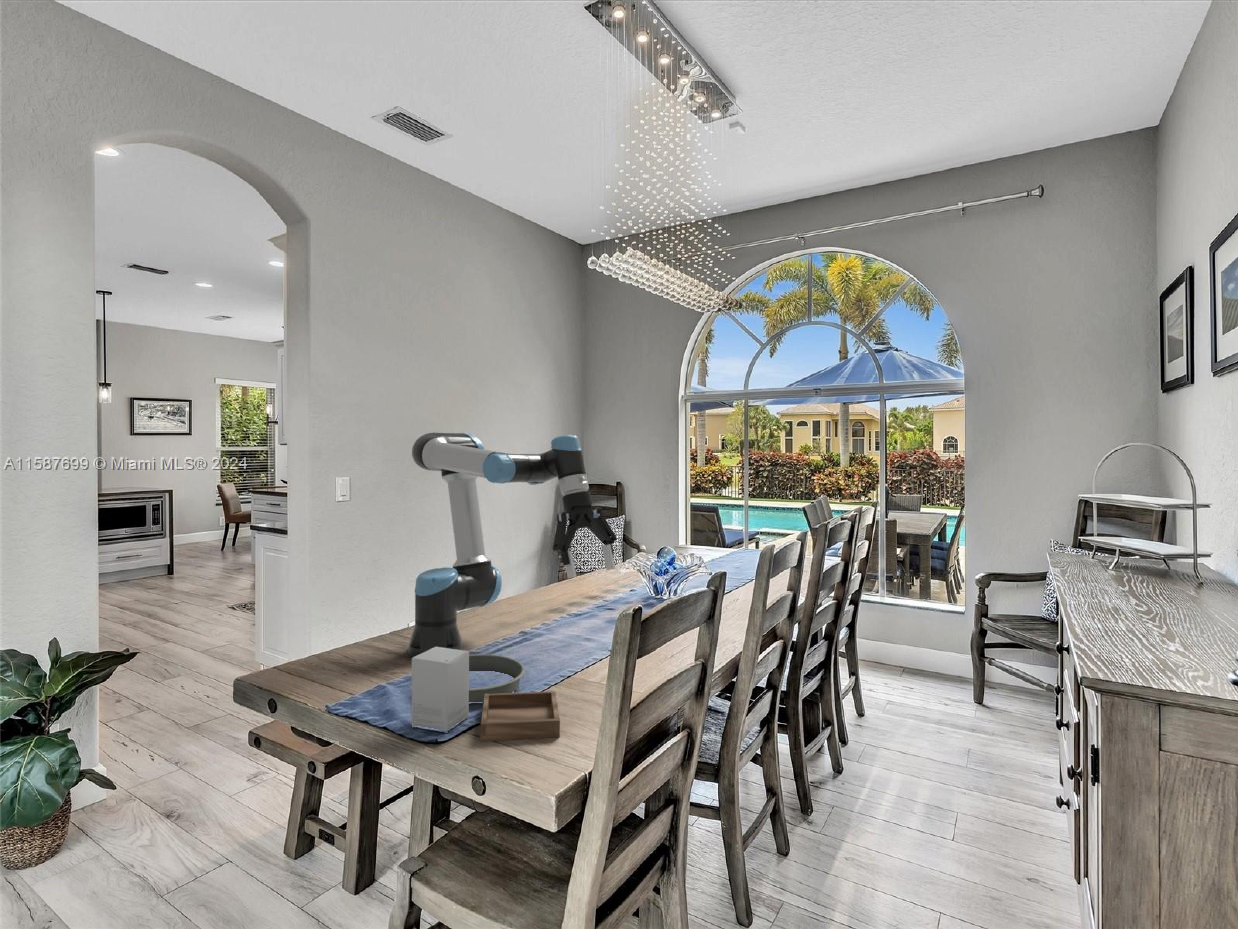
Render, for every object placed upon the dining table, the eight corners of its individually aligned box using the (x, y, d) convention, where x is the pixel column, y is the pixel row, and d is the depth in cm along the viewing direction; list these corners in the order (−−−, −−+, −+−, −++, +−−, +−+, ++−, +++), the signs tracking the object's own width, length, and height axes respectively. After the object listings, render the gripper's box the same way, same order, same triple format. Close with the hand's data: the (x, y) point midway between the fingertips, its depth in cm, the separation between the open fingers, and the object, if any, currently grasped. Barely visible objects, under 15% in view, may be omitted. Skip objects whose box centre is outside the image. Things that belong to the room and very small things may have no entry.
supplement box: (470, 717, 140) (471, 650, 139) (446, 734, 131) (447, 663, 131) (435, 711, 143) (436, 645, 142) (409, 727, 134) (410, 657, 134)
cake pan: (403, 688, 156) (403, 670, 156) (484, 664, 175) (485, 648, 175) (462, 717, 140) (462, 697, 140) (545, 687, 159) (545, 669, 159)
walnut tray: (484, 709, 144) (484, 694, 144) (554, 706, 147) (555, 691, 147) (480, 741, 129) (480, 724, 128) (559, 737, 131) (559, 720, 131)
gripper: (546, 493, 155) (563, 579, 152) (618, 487, 173) (635, 564, 169) (529, 500, 160) (545, 583, 157) (600, 493, 178) (616, 568, 175)
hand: (592, 573), depth 163 cm, fingers open, 13 cm apart
